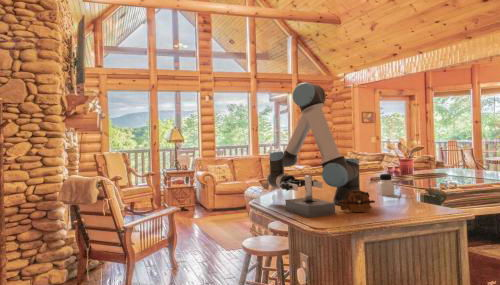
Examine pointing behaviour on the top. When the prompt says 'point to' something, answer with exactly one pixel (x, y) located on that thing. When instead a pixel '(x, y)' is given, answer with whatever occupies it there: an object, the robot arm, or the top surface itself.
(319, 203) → the pin block
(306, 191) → the pin
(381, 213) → the top surface
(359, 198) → the wooden carving
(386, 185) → the medicine bottle
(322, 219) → the top surface
